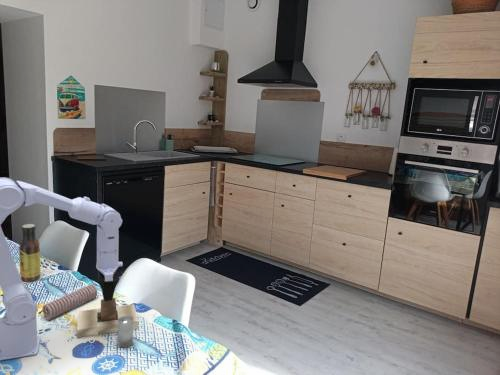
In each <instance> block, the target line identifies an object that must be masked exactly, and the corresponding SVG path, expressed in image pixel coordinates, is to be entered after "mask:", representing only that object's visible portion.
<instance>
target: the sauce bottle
mask: <svg viewBox="0 0 500 375" xmlns="http://www.w3.org/2000/svg"><path fill="white" fill-rule="evenodd" d="M21 230H22V239H21V241H20V245H19V246H18V252H19V253H18V257H19V272H20V273H19V275H20V278H21V280H22V282H23V281H24V282H33V281H37V280H39V279H40V277H41V250H40V242H39V240H38V239H37V238H36V224H33V223H27V224H26V223H25V224H23V225H22V226H21Z"/></svg>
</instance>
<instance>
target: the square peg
mask: <svg viewBox="0 0 500 375" xmlns="http://www.w3.org/2000/svg"><path fill="white" fill-rule="evenodd" d="M116 306H117V300H116V297H113V299H112V300H111V301H104V299H100V308H101V320H100V322H105V321H112V320H117V318H116Z"/></svg>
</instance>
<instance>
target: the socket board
mask: <svg viewBox="0 0 500 375" xmlns="http://www.w3.org/2000/svg"><path fill="white" fill-rule="evenodd" d="M135 306H136V305H135V304H133V303H132V304H127V305H126V304H124V305H118V306H117V305H116V320H112V321H105V322H101V307H100V308H93V309H85V310H78V311H77V323H76V325H77V326H76V338H77V339H81V338H86V337H94V336H99V335H107V334H113V333H118V319H119V318H120V317H123V316H130V317H132V318H133V331H134V330H139V319H138V316H137V310H136V307H135ZM99 321H100V322H99Z"/></svg>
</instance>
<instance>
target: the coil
mask: <svg viewBox="0 0 500 375" xmlns="http://www.w3.org/2000/svg"><path fill="white" fill-rule="evenodd" d="M96 296H97V297H98V289H97V286H96V285H95V284H93V283H90V284H89V285H87V286H84V287H82V288H79V289H77V290H75V291H72V292H70V293H68V294H65V295H64V296H61V297H59V298H57V299H55V300H53V301H50V302H48V303H45V304H43V305H42V313H43V315H44V321H50V320H52V319H54V318H56V317H58V316H60V315H63V314H64V313H66V312H69V311H70V310H73V309H74V308H77V307H78V306H81V305H83V304H85V303H88V302H89V301H91V300H93V299H96V298H97V297H96ZM88 300H89V301H88ZM80 304H81V305H80Z"/></svg>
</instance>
